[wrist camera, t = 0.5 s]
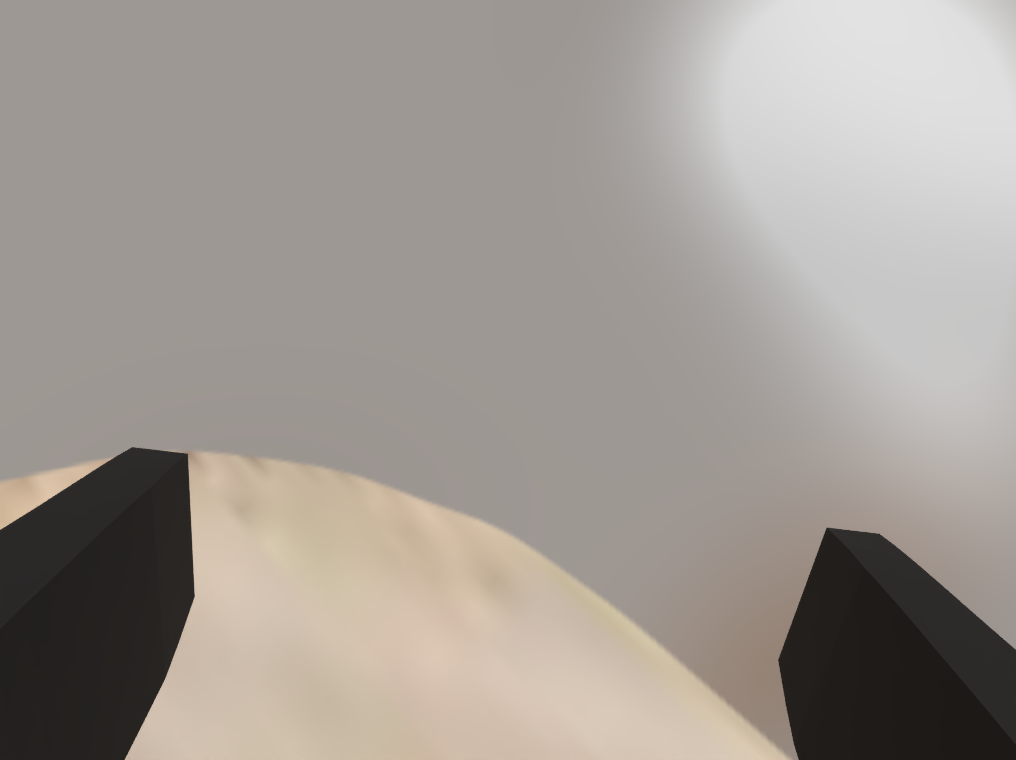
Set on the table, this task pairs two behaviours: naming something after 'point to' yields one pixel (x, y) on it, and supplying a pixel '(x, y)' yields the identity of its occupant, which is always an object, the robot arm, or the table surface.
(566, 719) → the table surface
